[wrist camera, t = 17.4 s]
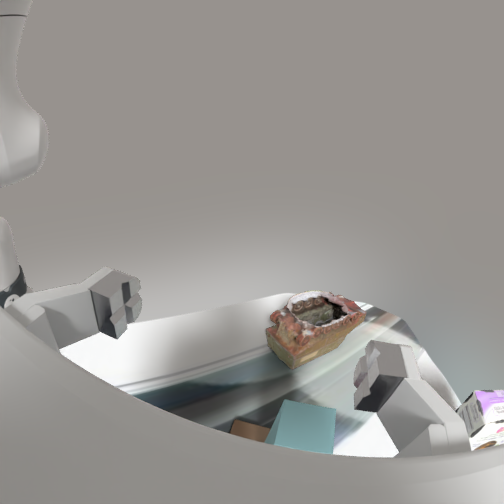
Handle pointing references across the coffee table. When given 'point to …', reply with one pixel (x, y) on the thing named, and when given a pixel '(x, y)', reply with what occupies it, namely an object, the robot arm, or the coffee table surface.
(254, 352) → the coffee table surface
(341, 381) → the coffee table surface
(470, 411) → the candy box
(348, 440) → the coffee table surface
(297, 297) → the decorative box
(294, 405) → the teal block
